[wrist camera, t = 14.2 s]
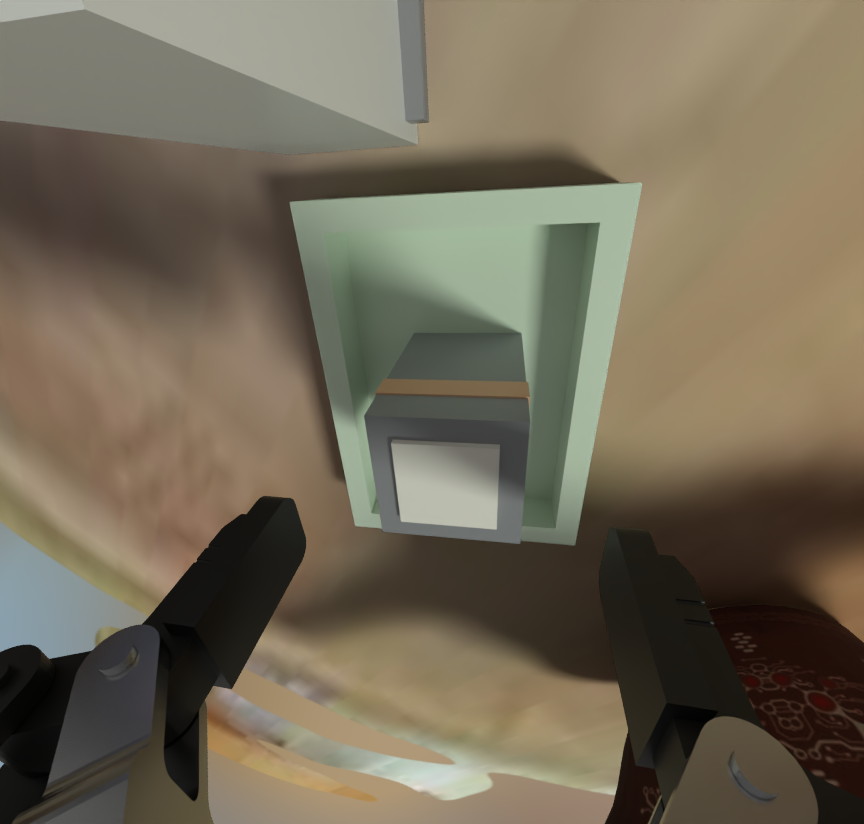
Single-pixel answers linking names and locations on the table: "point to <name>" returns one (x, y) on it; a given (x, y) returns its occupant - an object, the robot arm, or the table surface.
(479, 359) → the module
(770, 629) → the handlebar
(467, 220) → the tray
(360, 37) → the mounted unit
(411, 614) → the table surface
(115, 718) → the robot arm
